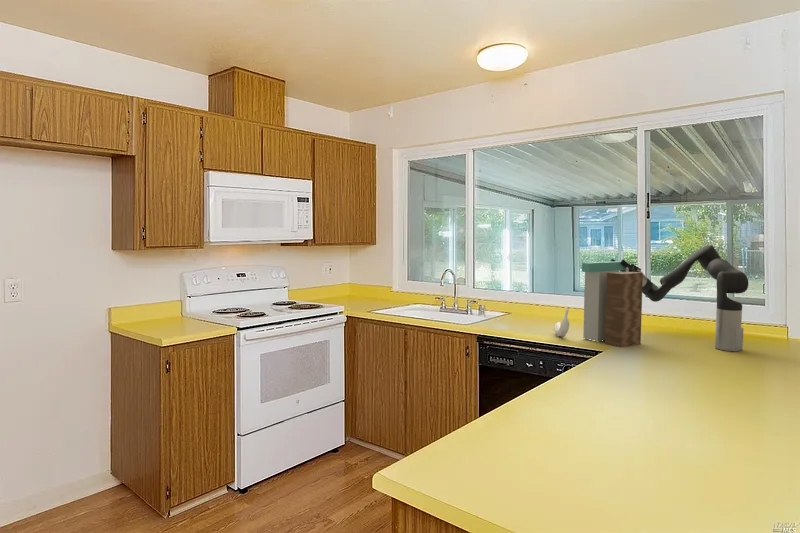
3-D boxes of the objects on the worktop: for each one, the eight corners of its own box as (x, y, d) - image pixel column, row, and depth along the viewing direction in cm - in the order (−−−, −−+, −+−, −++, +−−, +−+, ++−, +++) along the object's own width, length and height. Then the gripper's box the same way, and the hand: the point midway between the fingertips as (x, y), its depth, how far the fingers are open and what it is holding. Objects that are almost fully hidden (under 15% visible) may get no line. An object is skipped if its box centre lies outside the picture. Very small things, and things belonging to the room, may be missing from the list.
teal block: (618, 269, 253) (618, 261, 253) (625, 269, 250) (626, 261, 250) (581, 271, 240) (581, 262, 240) (588, 272, 237) (589, 263, 236)
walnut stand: (624, 340, 243) (626, 271, 241) (640, 343, 236) (642, 272, 234) (605, 343, 236) (606, 272, 234) (620, 347, 229) (622, 274, 227)
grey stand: (603, 335, 253) (604, 269, 251) (617, 338, 246) (619, 270, 244) (583, 339, 246) (584, 271, 244) (597, 342, 239) (599, 272, 237)
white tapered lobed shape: (560, 332, 262) (560, 303, 261) (572, 340, 243) (572, 309, 242) (550, 332, 262) (551, 303, 261) (561, 340, 243) (562, 309, 242)
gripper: (646, 285, 250) (627, 268, 242) (620, 282, 263) (601, 267, 254) (651, 271, 252) (632, 254, 244) (625, 269, 264) (606, 253, 256)
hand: (616, 261), depth 249 cm, fingers open, 5 cm apart
